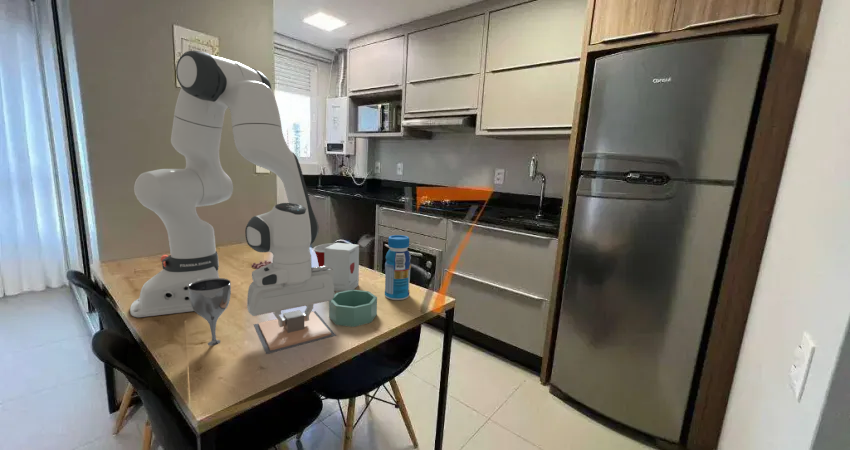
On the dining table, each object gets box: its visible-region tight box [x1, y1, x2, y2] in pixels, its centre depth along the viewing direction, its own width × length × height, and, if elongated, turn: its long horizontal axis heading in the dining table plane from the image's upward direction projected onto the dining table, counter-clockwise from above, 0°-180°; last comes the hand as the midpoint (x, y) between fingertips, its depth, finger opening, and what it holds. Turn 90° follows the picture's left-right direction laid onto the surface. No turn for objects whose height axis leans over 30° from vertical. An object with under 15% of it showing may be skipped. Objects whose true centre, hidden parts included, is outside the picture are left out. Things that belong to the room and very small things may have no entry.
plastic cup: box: [312, 242, 336, 267], centre depth 126 cm, size 11×11×12 cm
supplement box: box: [324, 242, 360, 292], centre depth 116 cm, size 9×9×15 cm
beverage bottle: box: [384, 234, 412, 301], centre depth 111 cm, size 8×8×20 cm
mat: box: [253, 310, 337, 355], centre depth 86 cm, size 16×16×1 cm
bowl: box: [328, 289, 378, 328], centre depth 95 cm, size 12×12×6 cm
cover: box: [257, 309, 331, 351], centre depth 85 cm, size 14×14×4 cm
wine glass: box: [188, 277, 232, 347], centre depth 77 cm, size 8×8×15 cm
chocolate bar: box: [251, 260, 273, 270], centre depth 132 cm, size 7×19×2 cm, turn 51°
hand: (293, 323), depth 86 cm, fingers open, 4 cm apart
